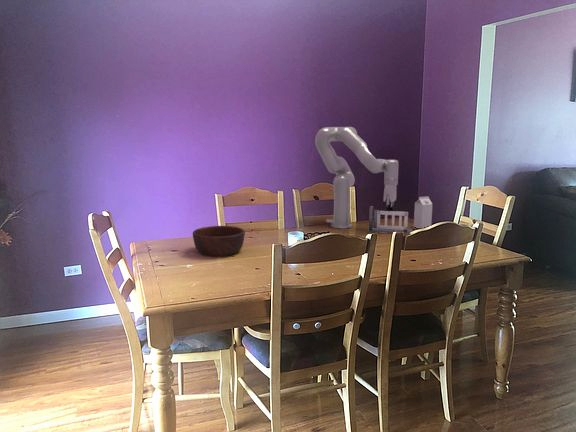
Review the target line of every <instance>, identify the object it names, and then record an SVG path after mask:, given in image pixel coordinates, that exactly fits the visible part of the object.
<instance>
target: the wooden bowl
mask: <svg viewBox="0 0 576 432" xmlns="http://www.w3.org/2000/svg"><path fill="white" fill-rule="evenodd" d="M192 239H193V243H194V247H195V249H196V251H197V252H198V253H199V255H200V254H201V255H203V256H205V257H218V258H219V257H228V256H233V255H236V254H238V253H239V252H240V251H241V250H242V248H243V245H244V242H245V229H243V228H242V227H239V226H232V225H211V226H205V227H204V226H203V227H200V228H196V229H194V230H193V231H192Z"/></svg>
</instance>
